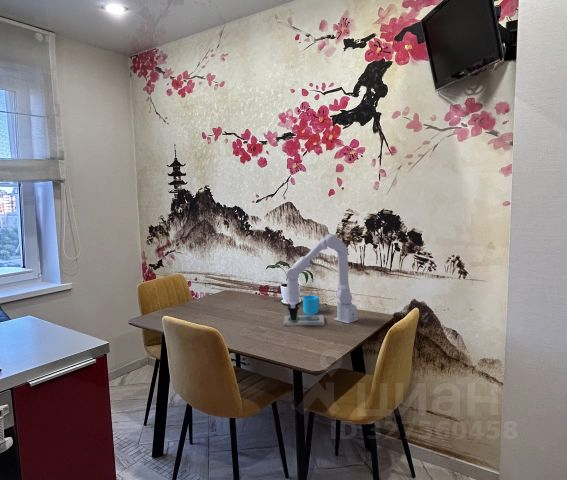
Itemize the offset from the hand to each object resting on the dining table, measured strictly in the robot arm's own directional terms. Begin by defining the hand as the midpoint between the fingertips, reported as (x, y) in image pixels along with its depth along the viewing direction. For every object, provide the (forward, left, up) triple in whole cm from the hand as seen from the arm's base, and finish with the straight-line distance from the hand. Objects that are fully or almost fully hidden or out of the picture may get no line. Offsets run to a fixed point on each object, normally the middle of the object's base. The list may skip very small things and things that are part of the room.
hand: (293, 318), depth 200 cm
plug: (0, 0, -2) cm, 2 cm away
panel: (-4, -4, -2) cm, 5 cm away
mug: (+5, -20, -2) cm, 20 cm away
